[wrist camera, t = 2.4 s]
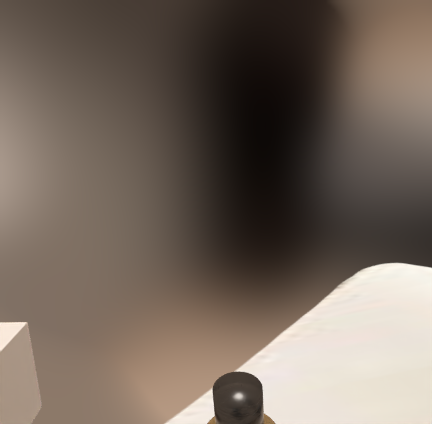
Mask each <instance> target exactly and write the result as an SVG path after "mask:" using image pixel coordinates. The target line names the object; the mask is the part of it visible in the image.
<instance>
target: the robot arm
mask: <svg viewBox="0 0 432 424" xmlns="http://www.w3.org/2000/svg"><path fill="white" fill-rule="evenodd" d="M41 407H42V404H41V398H40V392H39V386H38V381H37V375H36V369H35V363H34V358H33V352H32V346H31V341H30V335H29V329H28V323H27V322H26V323H25V322H16V323H0V424H31V423H32V422H33V420H34V418H35V417H36V415H37V413H38V412H39V410H40V409H41Z"/></svg>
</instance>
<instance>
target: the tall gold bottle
mask: <svg viewBox="0 0 432 424" xmlns="http://www.w3.org/2000/svg"><path fill="white" fill-rule="evenodd" d="M213 400H214V411H215V416H214V417H213V418H212V419H211V420H210V421H209V422H208V423H207V424H275V423H274V421H273V420H272V419H271V418H270V417H268V416H267V415H265V414H264V411H263V390H262V384H261V382H260V381H259V379H258V378H256V377H255V376H253V375H252V374H249V373H245V372H231V373H228V374H225V375H223V376H221V377H220V378H219V379H218V380H217V381H216V382H215V383H214V386H213Z"/></svg>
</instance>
